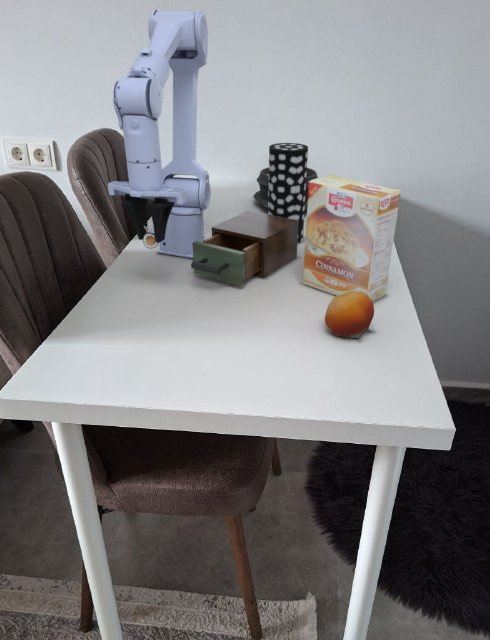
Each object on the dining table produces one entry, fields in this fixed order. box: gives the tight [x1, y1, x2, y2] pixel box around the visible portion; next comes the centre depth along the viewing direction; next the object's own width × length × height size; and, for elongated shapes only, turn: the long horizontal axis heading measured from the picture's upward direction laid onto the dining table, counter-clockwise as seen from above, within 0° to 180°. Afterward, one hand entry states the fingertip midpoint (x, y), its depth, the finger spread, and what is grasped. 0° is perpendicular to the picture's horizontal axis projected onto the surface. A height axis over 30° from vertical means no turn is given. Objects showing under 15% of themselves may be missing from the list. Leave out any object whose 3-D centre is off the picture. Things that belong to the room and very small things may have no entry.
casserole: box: [253, 166, 319, 211], centre depth 154 cm, size 25×19×8 cm
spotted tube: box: [267, 142, 309, 244], centre depth 127 cm, size 8×8×20 cm
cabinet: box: [211, 210, 299, 279], centre depth 119 cm, size 14×13×8 cm
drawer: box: [190, 233, 262, 287], centre depth 112 cm, size 17×11×6 cm
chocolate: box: [142, 225, 160, 250], centre depth 103 cm, size 3×2×4 cm
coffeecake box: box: [302, 174, 402, 303], centre depth 104 cm, size 15×7×20 cm, turn 46°
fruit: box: [324, 291, 375, 340], centre depth 94 cm, size 8×8×8 cm
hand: (151, 239), depth 103 cm, fingers closed on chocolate, 3 cm apart
